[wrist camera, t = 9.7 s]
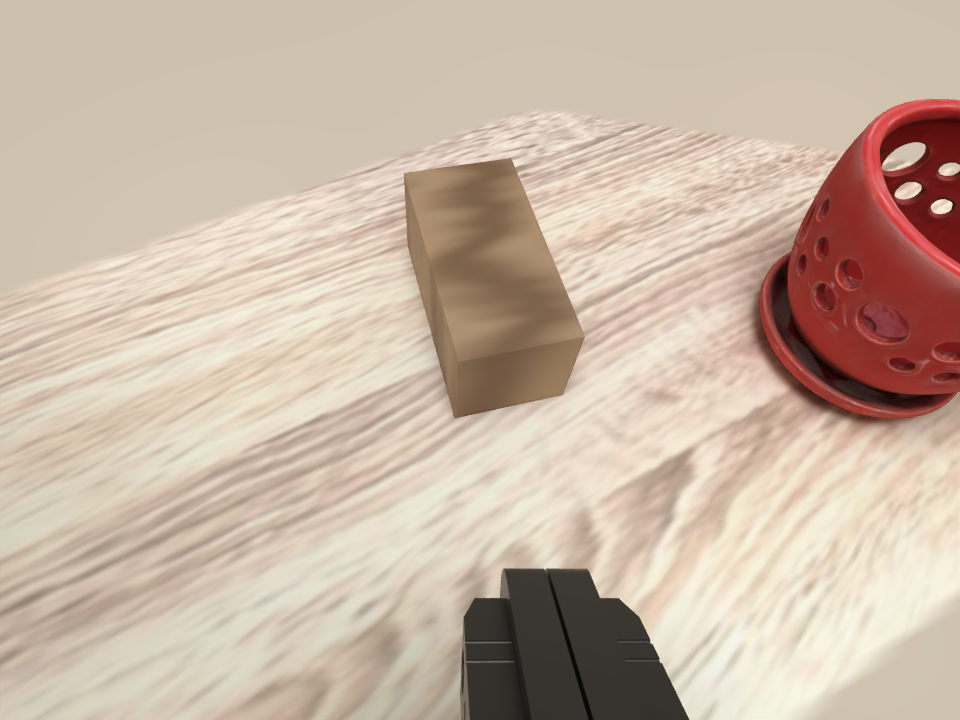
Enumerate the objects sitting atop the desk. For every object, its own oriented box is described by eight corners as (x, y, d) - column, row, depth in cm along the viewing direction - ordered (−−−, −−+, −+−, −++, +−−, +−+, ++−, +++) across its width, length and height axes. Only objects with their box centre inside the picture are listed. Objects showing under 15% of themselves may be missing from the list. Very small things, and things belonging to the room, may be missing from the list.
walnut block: (458, 361, 28) (403, 173, 33) (454, 419, 33) (407, 247, 39) (584, 336, 29) (511, 158, 35) (561, 396, 34) (501, 232, 40)
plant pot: (839, 479, 32) (1029, 361, 22) (699, 288, 38) (798, 124, 28) (1016, 397, 36) (1254, 262, 25) (863, 233, 41) (1005, 68, 31)
